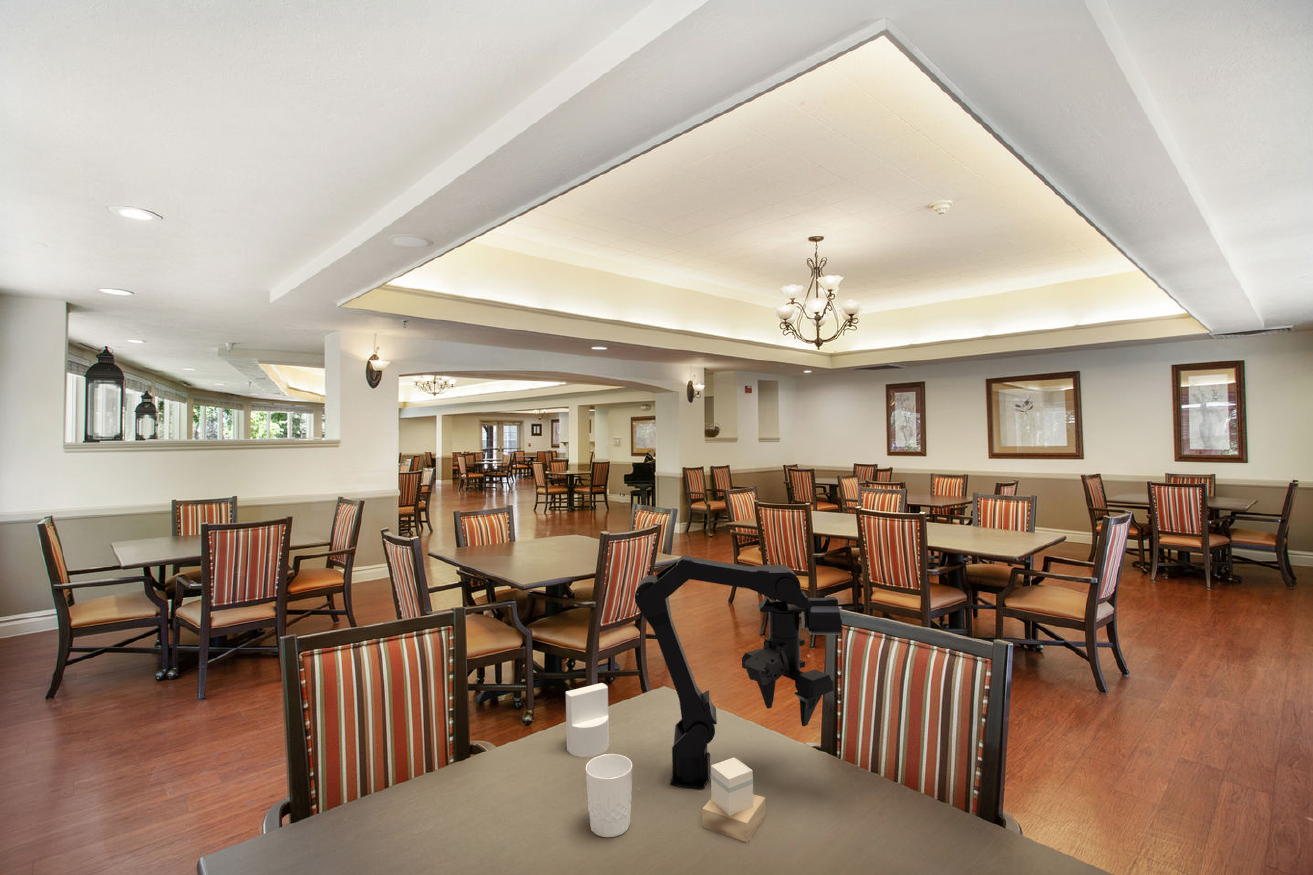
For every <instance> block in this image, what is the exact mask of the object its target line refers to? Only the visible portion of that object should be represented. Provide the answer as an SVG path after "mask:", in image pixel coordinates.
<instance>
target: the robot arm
mask: <svg viewBox="0 0 1313 875" xmlns="http://www.w3.org/2000/svg"><path fill="white" fill-rule="evenodd" d="M689 580H691V581H699V582H703V583H711V584H716V585H724V586H727V587H728V586H731V587H736V588H741V589H748V590H750V591H754V592H756V593H758V594H760V595H762V596H765V597H764V599H763V600H762V601H760V603H758V605H757V607H758V609H759V612H761V613H768V637H767V638H764V641H763V647H762V648H758V649H753V650H749V651H747V652H745V653H744V654H743V656H742V657H741V668H742V669H745V671H746V673H747V675H748V678H749V680H750V681H754V682H756V683H757V685H758V688H759V690H760V693H761V695H762V696H761V697H762V700H763V702H764V704H765V707H766V709H768V710H769V709H771V708H772V707H773V704H774V698H775V690H776V681H778V680H779V679H780V678H781V677H782V676H783V677H786V678H788V679H790V680H792V681H794V688H795V689H796V691H795V692H794V695H795V696H796V697H797V698H798V699H799V708H800V709H799V711H800V723H801V726H802V727H806V726H808V725H809V723H810V720H811V718H812V716H813V713H814V711H815V709H816V707H817V705H818V703H819V702H820V700H821V699H822V697H823V695H827V694H828V693H831V692H834V678H833V677H832V676H831V675H830V674H828V673H826V672H823V671H820V670H819V669H816V668H815V669H813V670H812V669H811V670H809V671H806V672H803V671H801V669H803V668H805V667H806V661H805V660H803V659H801V647H802V646H805V639H804V638H802V637H801V635H800V634H801V633H800V631H801V630H800V628H801V626H800V616H801V625H802V629H803V630H807V632H808V634H809V635H810V636H811V635H817V636H818V635H827V636H829V635H830V636H831V635H835V636H837V635H838V636H839V635H841V634H842V632H843V619H842V617H841V611H840V607H839V600H838V599H837V597H836V596H827V597H826V596H825V597H809V596H808V595H807V593H806V592H805V591H804V590H802V589H801V582H800V579H799V577H798V576H797V574H796V573H795V572H794V571H793V569H792V568H791V567H789V566H787V565H785V564H764V565H763V564H762V565H757V566H754V565H753V566H751V565H750V566H749V565H743V564H735V563H729V562H724V561H718V560H711V559H704V558H699V557H693V556H692V555H689V554H688V555H687V554H685V555H682V556H680V557H679V558H678V560H676V561H674V562H673V563H672V564H669V566H667V567H665V568H663V569H662V570H660V571H659V572H658V573H656V574H654V575H652V574H650V575H647V576H645V577H643V578H642V579H641V580H640V581H639V583H638V586H637V588H636V590H635V593H634V602H635V604H636V607H637V608H638V610H639V612H640V613H641V615H642V617H643V619H645V621H646V622H647V623H648V625H649V626H650V628H651V629H652V630H653V632H654V633H653V634H654V635H655V637H656V640H657V643H658V647H659V648H660V650H661V651H660V652H661V654H662V657H663V660H664V662H665V665H666V667H667V671H668V673H669V675H670V678H671V681H672V683H673V686H674V688H675V691H676V694H677V697H678V701H679V707H680V715H681V719H680V720H678V722H676V724H675V726H674V738H673V745H672V747H671V755H672V759H671V760H672V764H671V766H672V776H671V778H670V781H669V783H670V785H672V786H678V787H685V788H692V789H699V790H704V789H705V787H706V783H707V782H708V781H709V779H710V778H711V753H710V752H709V751H708V744H710V743H711V742H712V741H713V739H714V737H715V735H716V725H717V724H718V721H717V708H716V706H715V705H714V704H713V702H712V699H711V698H712V697H711V694H710V691H709V689H708V690H706V691H705V692H702V691H701V689H700V688H699V687H698V685H697V683H696V680H695V677H694V675H693V673H692V669H691V667H690V665H689V661H688V658H687V657H686V656H687V655H686V654H685V651H684V648H683V645H682V643H681V639H680V638H679V634H678V632H677V628H676V626H675V623H674V621H673V617H672V611H671V604H670V598H669V597H670V596H672V595H673V594H674V593H675V592H676V591H678V589H680V588H681V586H683V585H684V584H685V583H686V582H688V581H689ZM771 599H773V600H771ZM788 602H789V603H791V604H788ZM800 613H801V614H800Z"/></svg>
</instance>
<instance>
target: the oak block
mask: <svg viewBox="0 0 1313 875" xmlns="http://www.w3.org/2000/svg"><path fill="white" fill-rule="evenodd" d="M766 815H767V814H766V797H764V796H760V795H757V794H754V793H753V807H750V808H748V809H745V810H743V811H741V812H738V813H736V814H733V815H731V816H729V815H728V814H726V813H725V812H724V811H723V810H722V809H721V808H720V807H718V806H717V805H716V804H715V803H714V802H713V801H712V797H711V798H710V799H709V801H707V803H706V804H705V805H704V806H703V808H702V827H703V828H704V829H707V830H710V831H713V832H715V833H718V834H722V835H724V836H728V837H730V838H733V839H736V840H738V841H743V842H745V843H749V841H750V839H751V838H752V837H753V835H754V833H755V832H756V830H757V829H758V828H759V826H760V825H761V823H762V822H763V820H764V819H765V818H766Z"/></svg>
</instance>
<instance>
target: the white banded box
mask: <svg viewBox="0 0 1313 875" xmlns="http://www.w3.org/2000/svg"><path fill="white" fill-rule="evenodd" d="M710 766H711V774H710V780H711V781H710V782H711V784H710V788H711V790H710V791H711V793H710V794H711V798H712V801H713V802H714V803H715V804H716V805H717V806H718V807H720V808H721V809H722V810H723V811H724V812H725V813H726V814H728V815H729V816H731V815H733V814H736V813H738V812H741V811H743V810H745V809H748V808H750V807H753V794H754V775H753V769H752V768H750V767H749V766H747V765H746V764H745V763H743V762H742V761H740V760H739V759H738V758H736V757H731V758H729V759H726V760H725V759H724V760H723V761H720V762H716V763H714V764H710Z"/></svg>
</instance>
